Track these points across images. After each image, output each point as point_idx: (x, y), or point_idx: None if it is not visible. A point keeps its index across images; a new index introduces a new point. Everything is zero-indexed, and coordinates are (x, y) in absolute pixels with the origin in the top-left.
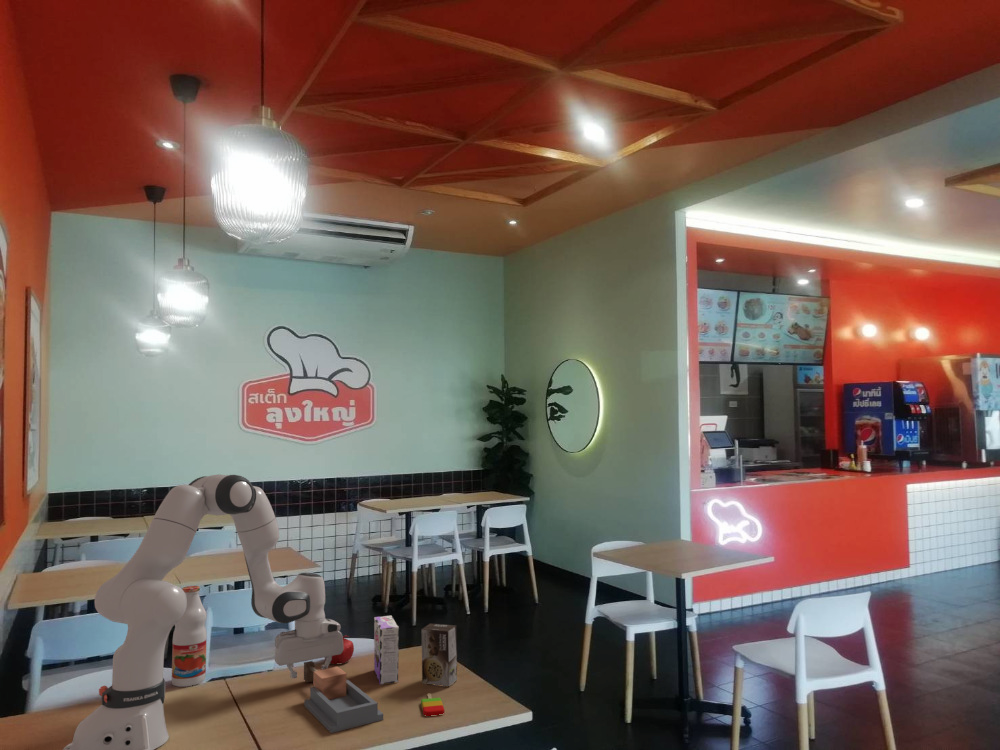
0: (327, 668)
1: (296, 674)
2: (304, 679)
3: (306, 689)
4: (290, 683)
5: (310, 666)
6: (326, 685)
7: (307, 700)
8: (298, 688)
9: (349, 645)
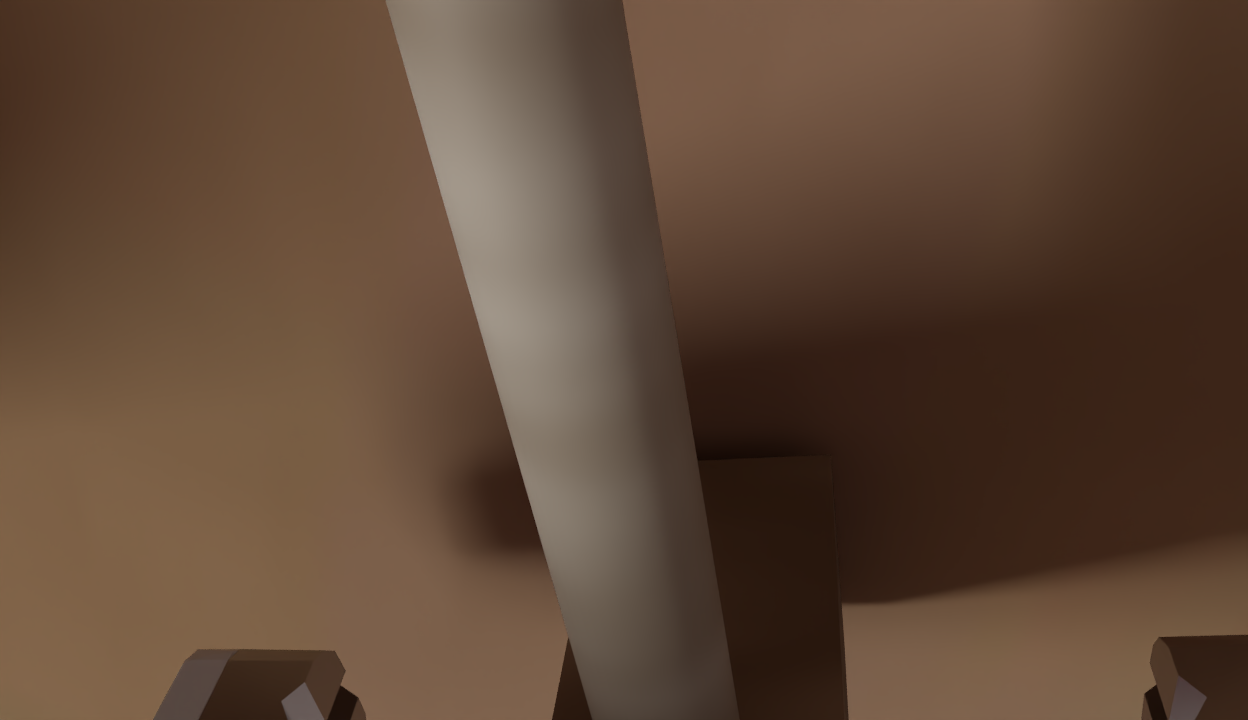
0: (170, 709)
1: (1220, 716)
2: (842, 622)
3: (976, 42)
4: None
5: None
6: None
7: None
8: (1161, 248)
9: None
